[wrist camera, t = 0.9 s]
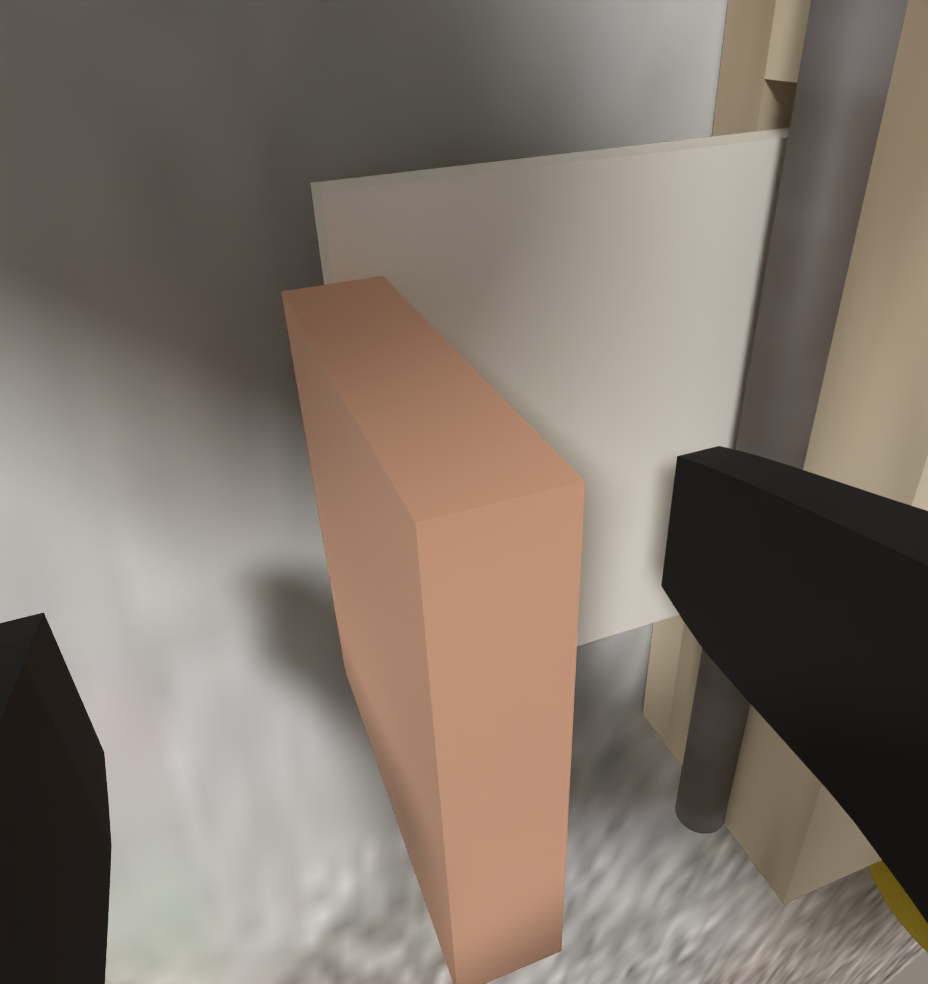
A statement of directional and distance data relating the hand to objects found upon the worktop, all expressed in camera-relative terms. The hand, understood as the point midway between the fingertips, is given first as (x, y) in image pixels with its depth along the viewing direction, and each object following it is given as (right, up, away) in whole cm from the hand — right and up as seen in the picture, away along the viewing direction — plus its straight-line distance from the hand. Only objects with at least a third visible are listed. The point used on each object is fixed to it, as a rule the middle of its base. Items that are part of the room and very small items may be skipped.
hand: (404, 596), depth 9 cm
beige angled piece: (+5, +3, +4) cm, 7 cm away
